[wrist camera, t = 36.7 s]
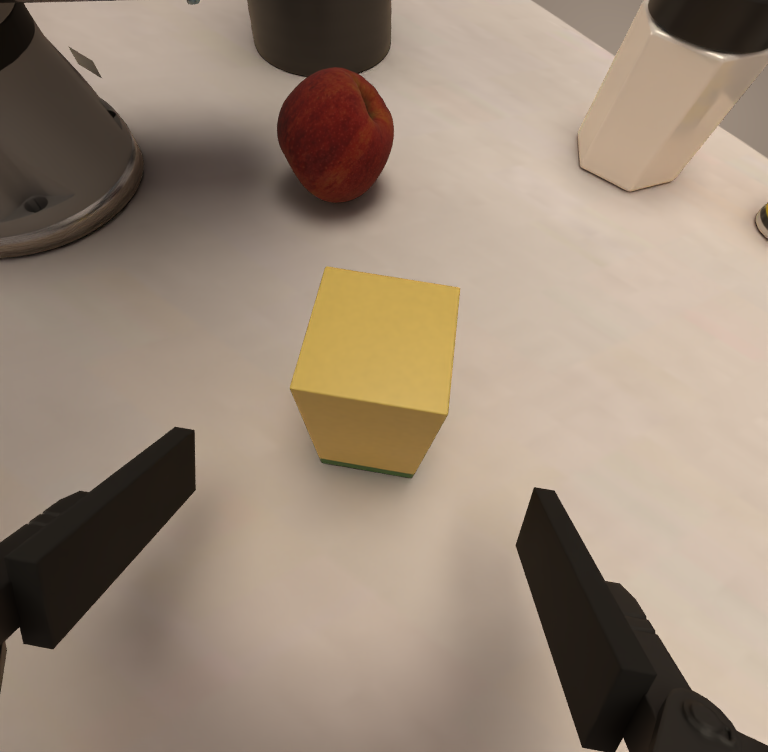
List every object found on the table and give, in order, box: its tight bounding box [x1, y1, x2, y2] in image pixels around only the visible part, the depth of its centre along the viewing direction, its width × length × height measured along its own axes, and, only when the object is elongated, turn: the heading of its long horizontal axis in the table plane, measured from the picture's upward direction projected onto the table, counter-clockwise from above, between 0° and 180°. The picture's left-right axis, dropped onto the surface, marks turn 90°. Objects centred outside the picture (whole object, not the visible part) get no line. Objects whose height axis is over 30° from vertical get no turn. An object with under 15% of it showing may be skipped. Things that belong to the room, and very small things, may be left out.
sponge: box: [290, 267, 460, 478], centre depth 18 cm, size 5×5×10 cm
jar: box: [578, 0, 768, 192], centre depth 28 cm, size 9×8×12 cm
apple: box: [277, 67, 394, 203], centre depth 27 cm, size 7×8×8 cm
